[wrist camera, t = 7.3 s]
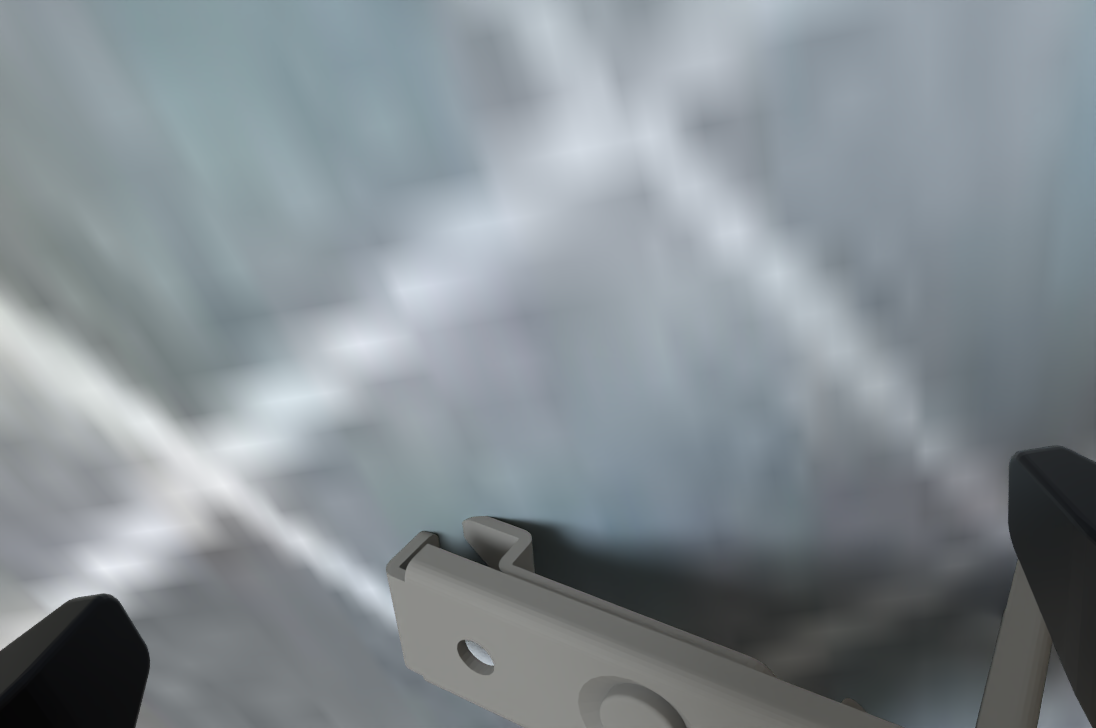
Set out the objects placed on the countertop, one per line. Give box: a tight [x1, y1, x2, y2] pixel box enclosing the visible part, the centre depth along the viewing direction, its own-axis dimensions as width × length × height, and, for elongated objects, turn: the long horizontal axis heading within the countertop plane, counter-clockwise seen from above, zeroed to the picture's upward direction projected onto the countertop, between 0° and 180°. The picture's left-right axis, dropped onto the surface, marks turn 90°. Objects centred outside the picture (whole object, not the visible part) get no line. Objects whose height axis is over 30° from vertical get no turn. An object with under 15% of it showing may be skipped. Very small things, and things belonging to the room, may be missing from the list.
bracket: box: [386, 516, 1052, 728], centre depth 26 cm, size 10×14×10 cm
